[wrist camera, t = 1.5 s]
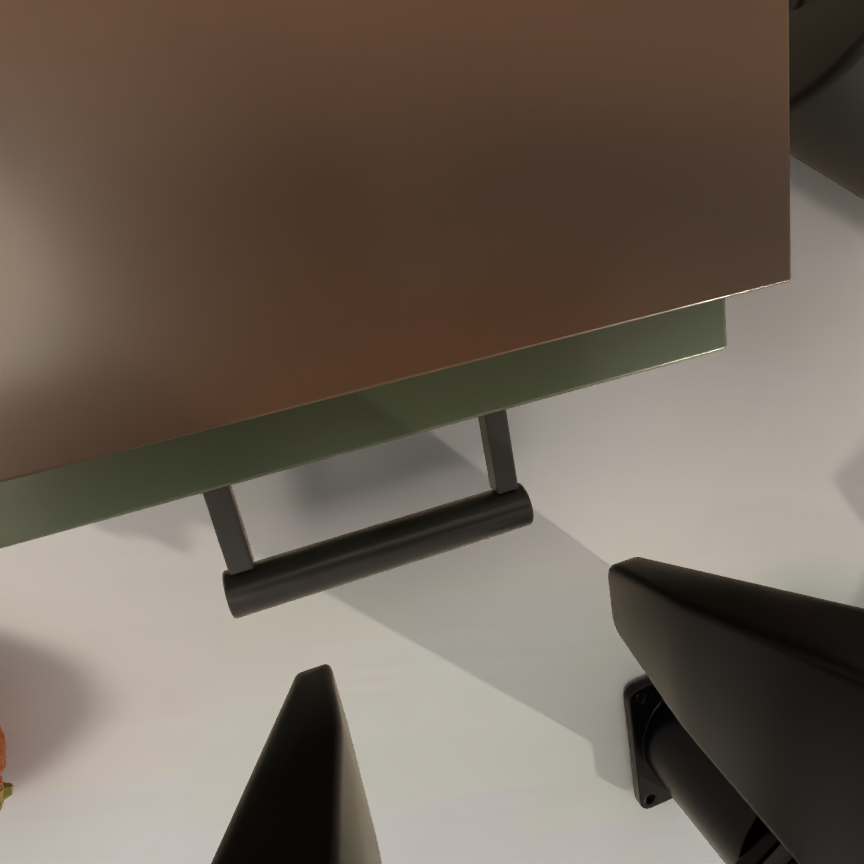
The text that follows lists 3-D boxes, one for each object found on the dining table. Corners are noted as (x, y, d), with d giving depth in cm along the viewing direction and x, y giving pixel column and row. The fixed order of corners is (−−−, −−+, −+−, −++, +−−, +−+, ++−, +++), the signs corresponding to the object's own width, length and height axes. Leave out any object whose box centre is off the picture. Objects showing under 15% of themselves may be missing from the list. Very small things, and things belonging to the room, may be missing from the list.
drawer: (551, 455, 22) (738, 575, 14) (143, 576, 19) (76, 817, 11) (444, -332, 15) (677, -974, 7) (-200, -326, 13) (-992, -1378, 4)
